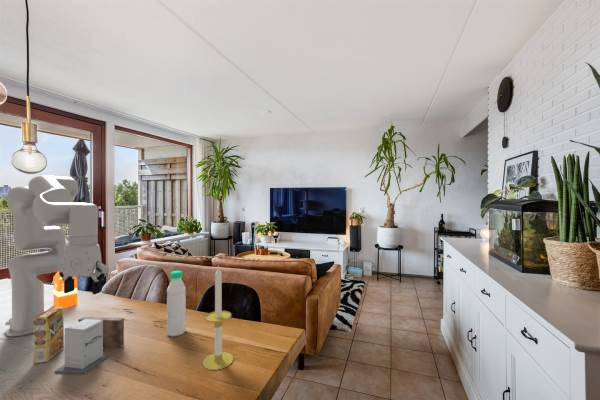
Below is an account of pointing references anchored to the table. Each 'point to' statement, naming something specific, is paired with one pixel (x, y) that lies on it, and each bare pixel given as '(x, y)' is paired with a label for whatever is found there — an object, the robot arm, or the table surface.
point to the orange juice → (61, 297)
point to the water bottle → (176, 305)
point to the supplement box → (83, 343)
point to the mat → (81, 371)
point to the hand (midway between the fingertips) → (83, 292)
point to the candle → (218, 329)
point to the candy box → (48, 334)
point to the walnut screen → (111, 331)
